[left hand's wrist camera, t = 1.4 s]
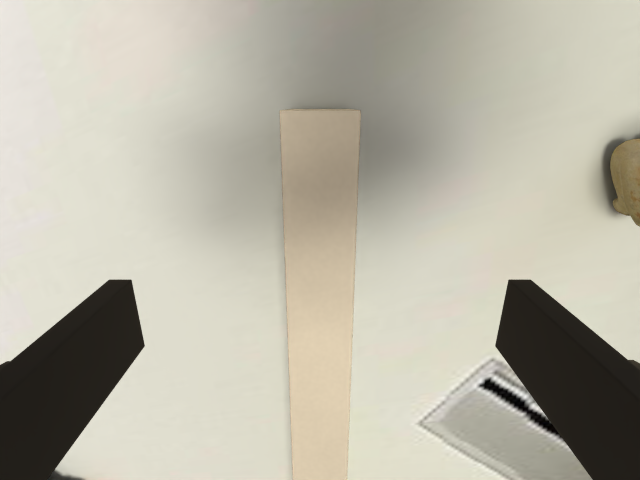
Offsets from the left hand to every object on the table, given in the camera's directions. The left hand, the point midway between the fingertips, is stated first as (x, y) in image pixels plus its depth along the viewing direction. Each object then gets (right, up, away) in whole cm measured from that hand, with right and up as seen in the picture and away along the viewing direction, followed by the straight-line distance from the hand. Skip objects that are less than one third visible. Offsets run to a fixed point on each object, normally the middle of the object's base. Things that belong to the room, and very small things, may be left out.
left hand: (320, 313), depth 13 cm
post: (0, -21, +30) cm, 36 cm away
